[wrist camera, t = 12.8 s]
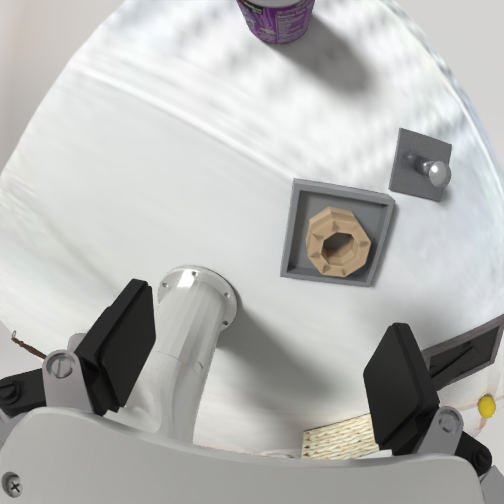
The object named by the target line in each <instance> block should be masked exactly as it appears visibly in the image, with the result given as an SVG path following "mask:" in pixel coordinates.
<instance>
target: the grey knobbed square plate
mask: <svg viewBox="0 0 504 504" xmlns="http://www.w3.org/2000/svg"><path fill="white" fill-rule="evenodd" d="M451 147H452V145H451V144H448V143H446V142H443V141H440V140H437V139H434V138H432V137H429V136H426V135H422V134H419V133H416V132H413V131H410V130H406V129H403V128H399V135H398V141H397V147H396V153H395V158H394V164H393V169H392V174H391V179H390V183H389V188H388V189H390V190H394V191H399V192H403V193H408V194H412V195H416V196H420V197H424V198H428V199H432V200H436V201H440V198H441V194H442V190H443V187H445V186H447V185H448V183H449V182H450V179H451V170H450V168H449V166H448V163H449V158H450V153H451Z"/></svg>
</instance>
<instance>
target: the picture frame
mask: <svg viewBox="0 0 504 504" xmlns="http://www.w3.org/2000/svg"><path fill="white" fill-rule="evenodd" d="M503 330H504V314H502V315H501V316H499V317H497V318H495V319H493V320H491V321H489V322H487V323H485V324H483V325H481V326H479V327H477V328H475V329H472V330H470V331H468V332H466V333H464V334H462V335H459V336H457V337H455V338H452V339H450V340H448V341H445V342H443V343H440V344H438V345H435V346H433V347H430V348H428V349H425V350H423V351H422V356H423V359H424V361H425V364H426V366H427V369H428V371H429V374H430V376H431V379H432V381H433V384H434V387H435V389H436V391H438V390H440V389H442V388H443V387H444V386H447V385H449V384H451V383H454V382H456V381H458V380H461V379H463V378H465V377H467V376H469V375H471V374H473V373H475V372H477V371H479V370H481V369H483V368H485V367H487V366H489V365H491V364H493V363H494V361H495V358H496V355H497V352H498V348H499V345H500V341H501V338H502V334H503Z"/></svg>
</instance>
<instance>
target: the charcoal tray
mask: <svg viewBox="0 0 504 504" xmlns="http://www.w3.org/2000/svg"><path fill="white" fill-rule="evenodd" d="M394 203H395V200H394V199H393V198H392V197H391V196H389V195H388V194H383V193H378V192H373V191H368V190H363V189H357V188H352V187H346V186H340V185H335V184H328V183H322V182H316V181H309V180H302V179H295V178H294V180H293V187H292V195H291V202H290V209H289V216H288V223H287V229H286V236H285V243H284V249H283V256H282V262H281V271H280V277H286V278H294V279H302V280H310V281H319V282H327V283H336V284H344V285H353V286H362V287H370V284H371V282H372V279H373V276H374V273H375V270H376V266H377V263H378V260H379V257H380V254H381V250H382V247H383V244H384V240H385V237H386V233H387V230H388V226H389V222H390V219H391V215H392V211H393V207H394ZM328 206H329V207H335V208H342V209H348V210H351V211H352V213H353V214H354V216H355V217H356V219H357V220H358V222H359V223H360V225H361V226H362V228H363V230H364V231H365V233H366V235H367V236H368V238H369V240H370V241H371V244H370V248H369V252H368V255H367V258H366V262H365V264H364V265H363V266H361V267H360V268H358V269H357V270H355V271H354V272H352V273H350V274H349V275H347V276H346V277H340V276H331V275H323V274H321V273H320V272H319V270H318V269H317V268H316V267H315V265H314V264H313V263H312V262H311V260H310V259H309V258H308V254H307V247H306V236H307V230H308V224H309V219H311V218H312V217H314V216H315V215H317V214H318V213H319V212H321V211H322V210H324V209H325V208H327V207H328ZM349 236H350V234H348V233H341V232H335V233H334V234H333V235H331V236H330V237H328V238H327V239H325V240H324V241H323V246H324V248H331V249H338V248H340V247H341V246H343V245H344V244H346V243H347V242H348V240H349Z"/></svg>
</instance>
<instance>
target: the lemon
mask: <svg viewBox="0 0 504 504" xmlns="http://www.w3.org/2000/svg"><path fill="white" fill-rule="evenodd" d="M495 409H496V405H495V401H494V399H493V398H492V397H490V396H486V397H485V396H483V397H482V399H481V400H480V402H479V405H478V410H479V413H480V414H481V416H482V417H484V418H489V417H492V415H493V414H494V412H495Z"/></svg>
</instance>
